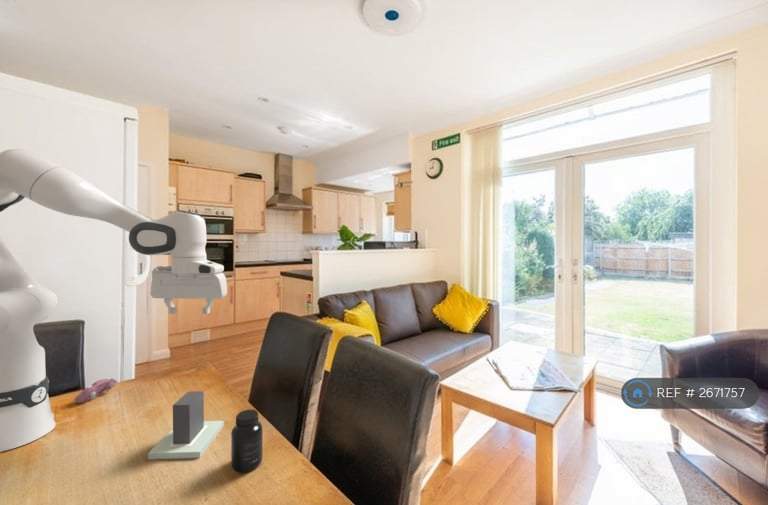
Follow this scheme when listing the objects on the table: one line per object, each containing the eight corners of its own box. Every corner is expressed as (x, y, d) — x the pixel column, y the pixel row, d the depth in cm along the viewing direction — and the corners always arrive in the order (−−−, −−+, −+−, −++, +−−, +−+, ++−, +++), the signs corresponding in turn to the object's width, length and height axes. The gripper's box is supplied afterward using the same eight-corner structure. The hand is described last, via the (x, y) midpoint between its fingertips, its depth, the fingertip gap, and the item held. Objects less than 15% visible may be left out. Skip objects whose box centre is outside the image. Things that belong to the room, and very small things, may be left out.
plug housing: (173, 444, 78) (172, 405, 78) (188, 427, 85) (188, 391, 85) (189, 443, 79) (189, 404, 78) (203, 427, 86) (203, 391, 85)
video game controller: (82, 409, 99) (90, 391, 98) (71, 402, 99) (79, 383, 98) (114, 394, 108) (121, 377, 108) (104, 387, 109) (111, 370, 108)
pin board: (148, 459, 75) (148, 444, 75) (179, 427, 88) (179, 414, 88) (200, 457, 76) (200, 442, 76) (223, 426, 89) (223, 413, 89)
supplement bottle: (226, 464, 74) (225, 414, 73) (253, 450, 79) (253, 403, 79) (239, 479, 69) (239, 426, 69) (268, 462, 75) (268, 413, 74)
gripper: (144, 266, 88) (145, 315, 88) (220, 268, 89) (220, 315, 90) (159, 265, 94) (159, 310, 95) (229, 266, 96) (229, 311, 96)
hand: (189, 313), depth 92 cm, fingers open, 8 cm apart
